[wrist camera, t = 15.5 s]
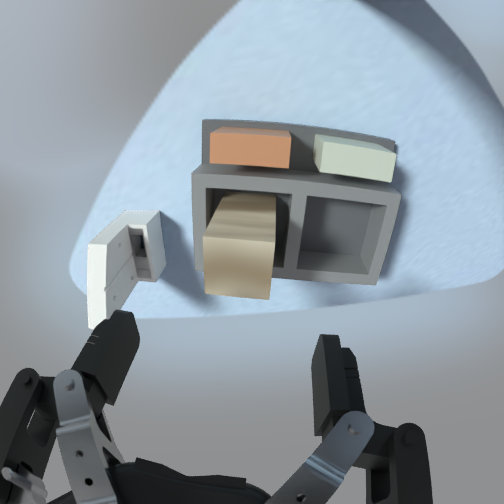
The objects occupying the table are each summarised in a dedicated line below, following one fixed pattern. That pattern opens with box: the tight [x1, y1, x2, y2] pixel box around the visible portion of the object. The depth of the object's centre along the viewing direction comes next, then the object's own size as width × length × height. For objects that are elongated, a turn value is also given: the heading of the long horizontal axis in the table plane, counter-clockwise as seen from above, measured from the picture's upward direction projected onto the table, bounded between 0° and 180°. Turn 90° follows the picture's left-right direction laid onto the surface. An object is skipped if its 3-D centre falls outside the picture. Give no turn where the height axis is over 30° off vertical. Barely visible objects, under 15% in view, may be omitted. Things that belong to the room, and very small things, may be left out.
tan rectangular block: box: [203, 191, 276, 300], centre depth 20 cm, size 4×4×8 cm
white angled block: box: [87, 210, 167, 329], centre depth 24 cm, size 4×10×9 cm, turn 179°
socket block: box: [191, 119, 402, 285], centre depth 21 cm, size 12×15×5 cm
